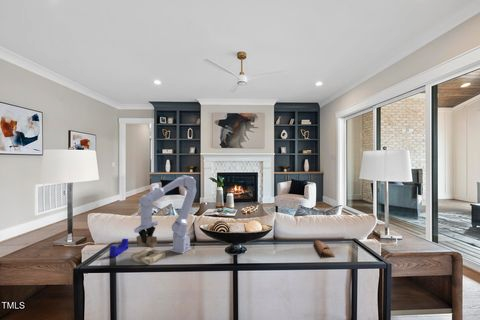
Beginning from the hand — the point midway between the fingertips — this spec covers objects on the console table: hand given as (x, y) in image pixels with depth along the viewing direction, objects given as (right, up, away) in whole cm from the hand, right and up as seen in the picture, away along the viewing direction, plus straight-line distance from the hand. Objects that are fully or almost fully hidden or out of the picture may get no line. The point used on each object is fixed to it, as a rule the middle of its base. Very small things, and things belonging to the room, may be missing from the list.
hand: (147, 241), depth 133 cm
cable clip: (-19, -9, +7) cm, 22 cm away
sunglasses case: (+100, -9, +9) cm, 101 cm away
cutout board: (+1, -9, 0) cm, 9 cm away
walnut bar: (0, -2, 0) cm, 2 cm away
